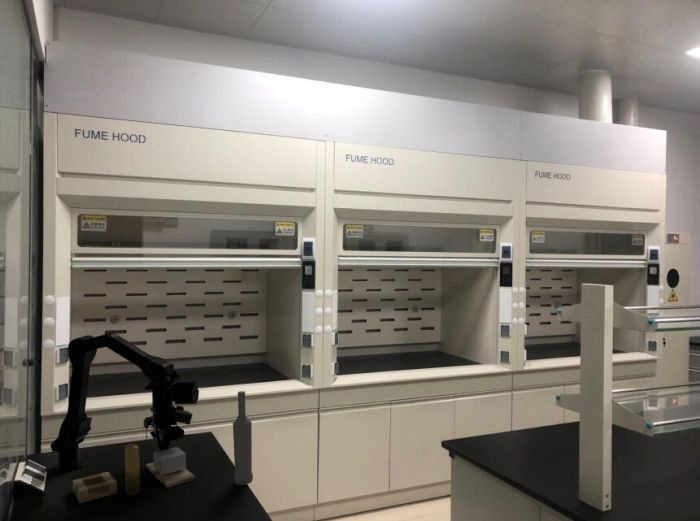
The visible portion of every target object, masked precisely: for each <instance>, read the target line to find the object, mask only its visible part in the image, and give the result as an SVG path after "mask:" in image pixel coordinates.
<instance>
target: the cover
mask: <svg viewBox="0 0 700 521" xmlns="http://www.w3.org/2000/svg"><path fill="white" fill-rule="evenodd" d="M186 456H187V455H186V452H185V451H183V450H182V449H181V448H179V447H177V446H175V447H171V448H168V449H166V450H162V451H159V450H158V451H154V452H153V455H152V457H153V458H152V459H153V461H152V462H153V463H154V468H155V469H156V470H157V471H158V472H159V473H160V474H161V475H164V474H168V473H172V472H175V471H179V470H183V469H187V457H186Z"/></svg>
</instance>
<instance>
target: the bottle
mask: <svg viewBox="0 0 700 521" xmlns="http://www.w3.org/2000/svg"><path fill="white" fill-rule="evenodd" d="M237 406H238V408H237V412H238V413H237V414H238V415H237V416H236V419H235V420H234V421H233V422H232V437H233V456H234V457H233V459H234V460H233V461H234V476H233V479H234V483H235V484H236V485H238V486H246V485H249V484H251V483H253V480H254V479H253V478H254V474H253V470H252V469H253V467H252V466H253V465H252V464H253V460H252V459H253V456H252V454H253V452H252V450H253V449H252V448H253V445H252V444H253V443H252V441H253V440H252V439H253V438H252V431H253V430H252V426H253V425H252V420H250V419H249V418H248V415H246V414H247V413H246V391H245V390H240V391H237Z"/></svg>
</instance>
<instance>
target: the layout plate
mask: <svg viewBox="0 0 700 521" xmlns="http://www.w3.org/2000/svg"><path fill="white" fill-rule="evenodd" d="M145 468H146V469H147V471H149V472H150V473H151V474H152V476H153V477H155V478H156V479H157V480H158V481H159V482H160V483H161V484H162V485H163V486H164V487H165V488H166V489H167V488H172V487H175V486H178V485H181V484H185V483H189V482H192V481H195V480H196V476H195V475H194V474H193V473H192V472H191V471H189V470H188V469H187V468H186V469H183V470H179V471H175V472H172V473H168V474H164V475H161V474H160V473H159V472H158V471H157V470H156V469H155V468H154V462H151V463H146V464H145Z"/></svg>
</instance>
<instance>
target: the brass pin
mask: <svg viewBox="0 0 700 521" xmlns="http://www.w3.org/2000/svg"><path fill="white" fill-rule="evenodd" d="M140 459H141V458H140V444H138V443H130V444H127V445H125V446H124V472H125V495H126V496H130V497H131V496H136V495H138V494H140V493H141V471H140V470H141V467H140V466H141V465H140Z"/></svg>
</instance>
